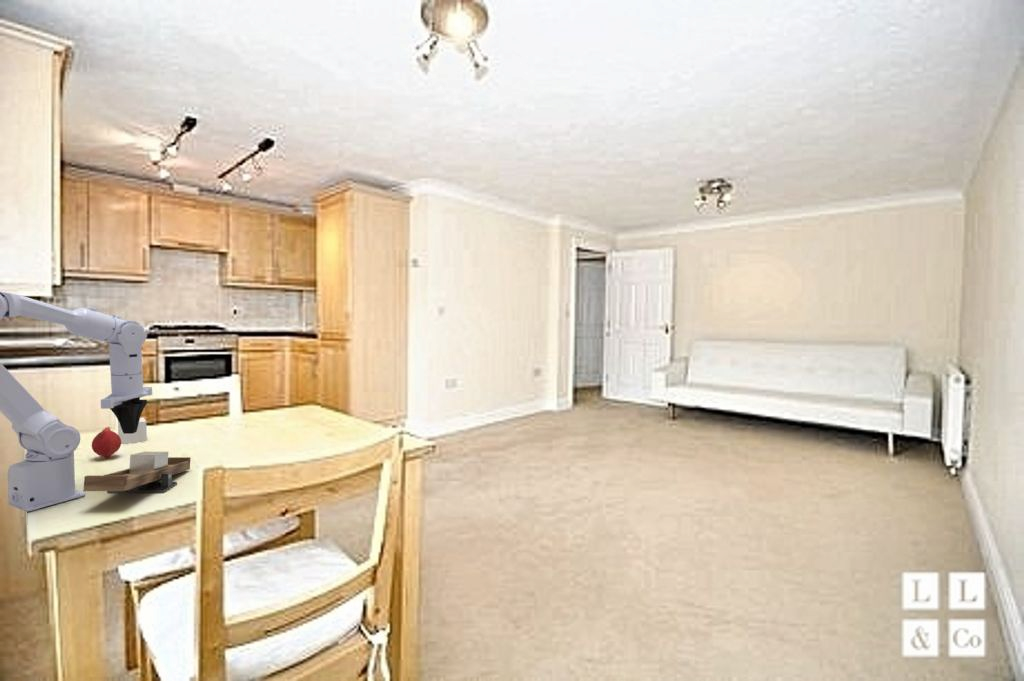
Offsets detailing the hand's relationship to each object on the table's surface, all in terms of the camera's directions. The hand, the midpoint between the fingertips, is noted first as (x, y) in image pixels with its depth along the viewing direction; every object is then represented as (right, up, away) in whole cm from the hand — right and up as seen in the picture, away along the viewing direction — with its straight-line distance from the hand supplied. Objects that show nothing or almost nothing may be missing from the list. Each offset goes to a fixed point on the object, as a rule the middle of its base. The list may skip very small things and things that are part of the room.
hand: (129, 432), depth 115 cm
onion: (-16, -9, +14) cm, 23 cm away
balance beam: (+7, -8, -6) cm, 12 cm away
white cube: (-21, -8, +29) cm, 37 cm away
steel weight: (+7, -8, -4) cm, 11 cm away
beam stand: (+7, -11, -6) cm, 14 cm away
